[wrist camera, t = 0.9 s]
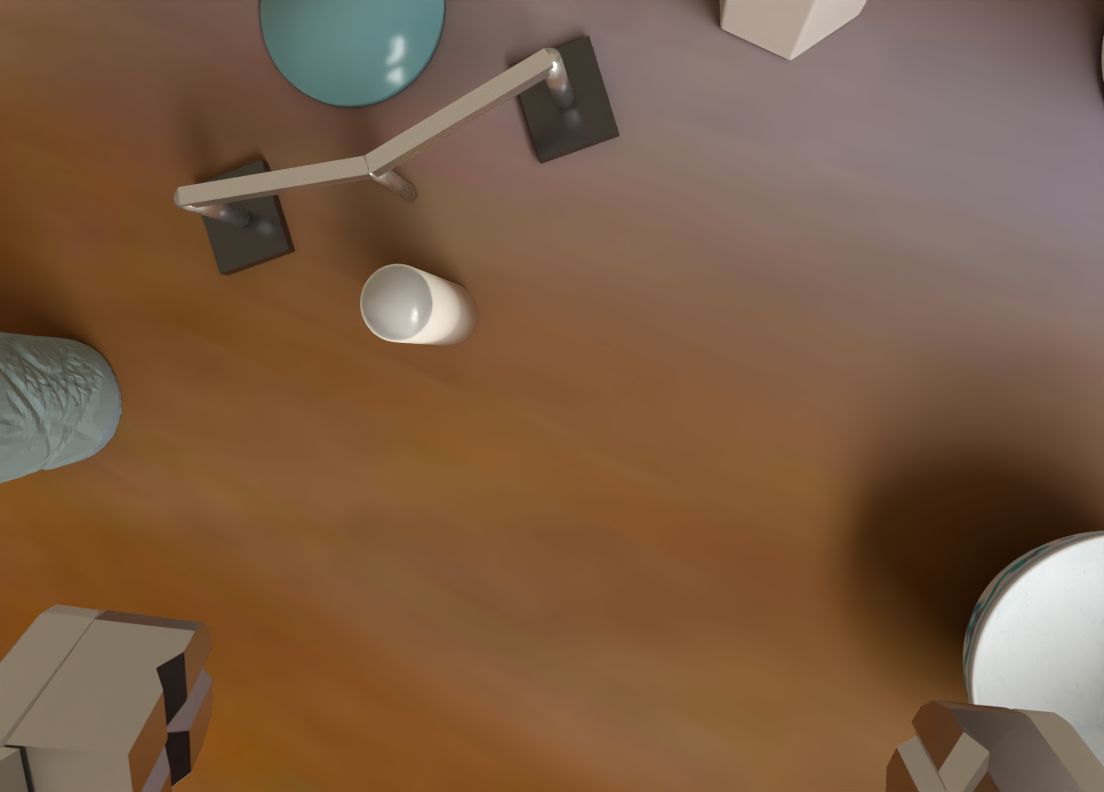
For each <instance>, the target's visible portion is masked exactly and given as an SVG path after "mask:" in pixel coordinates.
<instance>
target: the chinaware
mask: <svg viewBox="0 0 1104 792" xmlns="http://www.w3.org/2000/svg"><path fill="white" fill-rule="evenodd" d="M963 675H964V683H965V689H966V694H967V698H968V702H969V704H976V705H987V706H997V707H1006V708H1009V709H1014V708H1015V709H1025V710H1035V711H1045V712H1055V713H1056V714H1058V715H1059V716H1061V717H1062V718H1063V719H1065V720H1066V721H1068V722H1069V723H1070V724H1071V725H1072V726H1073V728H1074V729H1075V730H1076V732H1077V733H1078V734H1079V735H1080V737H1081V738H1082V739H1083V741H1084V742H1085V743H1086V744H1087V746H1088V747H1089V748H1090V750H1091V751H1092V752H1093V754H1094V755H1095V756H1096V757H1097V759H1098V760H1099V761H1100V763H1101V764H1102V765H1103V766H1104V530H1101V531H1092V532H1086V533H1080V534H1075V535H1071V536H1067V537H1063V538H1060V539H1056V540H1053V541H1051V542H1048V543H1045V544H1043V545H1041V546H1039V547H1036V548H1034V549H1032V550H1030V551H1029V552H1027V553H1025V554H1023V555H1022V556H1020V557H1019V558H1017V559H1016V560H1014V561H1013V562H1012V563H1010V564H1009V565H1008V566H1006V567H1005V568H1004V569H1003V570H1002V571H1001V572H1000V573H999V574H998V575H997V576H996V577H995V578H994V579H993V580H992V581H991V582H990V584H989V585H988V586H987V587H986V589H985V590H984V592H983V593H982V595H981V596H980V598H979V600H978V601H977V603H976V605H975V607H974V610H973V612H972V614H971V617H970V620H969V623H968V626H967V630H966V634H965V640H964V647H963Z"/></svg>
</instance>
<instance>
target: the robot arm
mask: <svg viewBox="0 0 1104 792" xmlns="http://www.w3.org/2000/svg"><path fill="white" fill-rule="evenodd" d="M1102 73H1103V80H1104V37H1103V44H1102ZM211 650H212V645H211V633H210V626H208V625H206V624H204V623H200V622H192V621H185V620H177V619H169V618H162V617H154V616H147V615H139V614H132V613H124V612H117V611H109V610H107V611H103V610H95V609H87V608H80V607H72V606H64V605H57V604H56V605H54V606H53V607H51V608H49V609H48V610H46V611H44V612H43V613H41V614H40V615H39V616H38V617H37V618H36V619H35V621H34V622H33V623H32V624H31V626H30V627H29V628H28V629H27V630H26V632H25V633H24V634H23V635H22V637H21V638H20V639H19V640H18V641H17V643H16V644H15V645H14V646H13V648H12V649H11V650H10V651H9V652H8V654H7V655H6V656H5V657H4V659H3V660H2V661H1V662H0V792H172V790H171V787H172V786H174V785H175V784H176V783H178V782H179V781H180V780H182V779H183V778H184V777H185V776H187V775H188V774H189V773H191V772H192V769H193V767H194V765H195V762H196V760H197V757H198V755H199V753H200V750H201V748H202V745H203V742H204V738H205V735H206V731H207V728H208V724H209V721H210V717H211V710H212V702H213V679H212V678H211V677H210V676H209V675H208V673H207V672H206V671H205V670H204V669H203V666H204V664H205V662H206V660H207V658H208V656H209V654H210V652H211ZM912 725H913V728H914V730H915V733H916V736H915V737H913V738H911V739H910V740H908V741H907V742H905V743H903V744H902V745H900V746H898V747H897V748H896V750H895V752H894V754H893V756H892V758H891V760H890V762H889V764H888V766H887V776H886V792H1104V766H1103V765H1102V764H1101V763H1100V761H1099V760H1098V759H1097V757H1096V756H1095V755H1094V754H1093V752H1092V751H1091V750H1090V748H1089V747H1088V746H1087V744H1086V743H1085V742H1084V741H1083V739H1082V738H1081V737H1080V735H1079V734H1078V733H1077V732H1076V730H1075V729H1074V728H1073V726H1072V725H1071V724H1070V723H1069V722H1068V721H1066V720H1065V719H1063V718H1062V717H1061V716H1059V715H1058V714H1056V713H1055V712H1045V711H1035V710H1025V709H1015V708H1014V709H1009V708H1006V707H997V706H987V705H976V704H966V703H955V702H945V701H934V700H932V701H930V702H928V703H927V704H925V705H923V706H921V707H920V709H919V710H918V712H917V714H916V715H915V717H914V719H913V720H912Z"/></svg>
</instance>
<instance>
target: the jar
mask: <svg viewBox="0 0 1104 792" xmlns="http://www.w3.org/2000/svg"><path fill="white" fill-rule="evenodd" d="M866 1H867V0H720V26H721V28H722V29H723V30H725V31H727V32H729V33H731V34H733V35H736V36H738V37H740V38H742V39H744V40H746V41H749V42H751V43H753V44H755V45H757V46H759V47H761V48H764V49H766V50H768V51H770V52H772V53H774V54H777V55H779V56H781V57H783V58H785V59H787V60H792V59H794V58H795V57H797V56H798V55H800V54H801V53H803V52H804V51H806V50H807V49H809V48H810V47H812V46H813V45H815V44H816V43H818V42H819V41H821V40H822V39H823V38H825V37H826V36H828V35H829V34H831V33H832V32H834V31H835V30H837V29H838V28H840V27H841V26H843V25H844V24H846V23H847V22H849V21H850V20H852V19H853V18H855V17H856V16H858V15H859V13H860V12H861V10H862V8H863V7H864V5H865V3H866Z"/></svg>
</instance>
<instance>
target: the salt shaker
mask: <svg viewBox="0 0 1104 792" xmlns="http://www.w3.org/2000/svg"><path fill="white" fill-rule="evenodd" d="M360 307H361V313H362V316H363V319H364V321H365V323H366V324H367V326H368V327H369V329H370V330H371V331H372V332H373V333H374V334H376V335H377V336H378V337H380V338H382V339H385V340H387V341H391V342H403V343H417V344H431V345H445V346H449V345H455V344H458V343H460V342H462V341H464V340H465V339H466V338H467V337H468V336H469V335H470V334H471V333H472V331H473V330H474V328H475V326H476V323H477V317H478V310H477V305H476V302H475V300H474V298H473V296H472V295H471V294H470V292H469V291H468V290H467V289H465V288H464V287H462V286H461V285H458V284H456V283H453V282H450V281H448V280H445V279H443V278H440V277H437V276H435V275H432V274H429V273H427V272H424V271H421V270H419V269H416V268H414V267H411V266H408V265H404V264H391V265H387V266H384V267H382V268H380V269H378V270H377V271H375V272H374V273H373V274H372V275H371V276H370V277H369V279H368V280H367V281H366V283H365V285H364V287H363V290H362V293H361V300H360Z"/></svg>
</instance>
